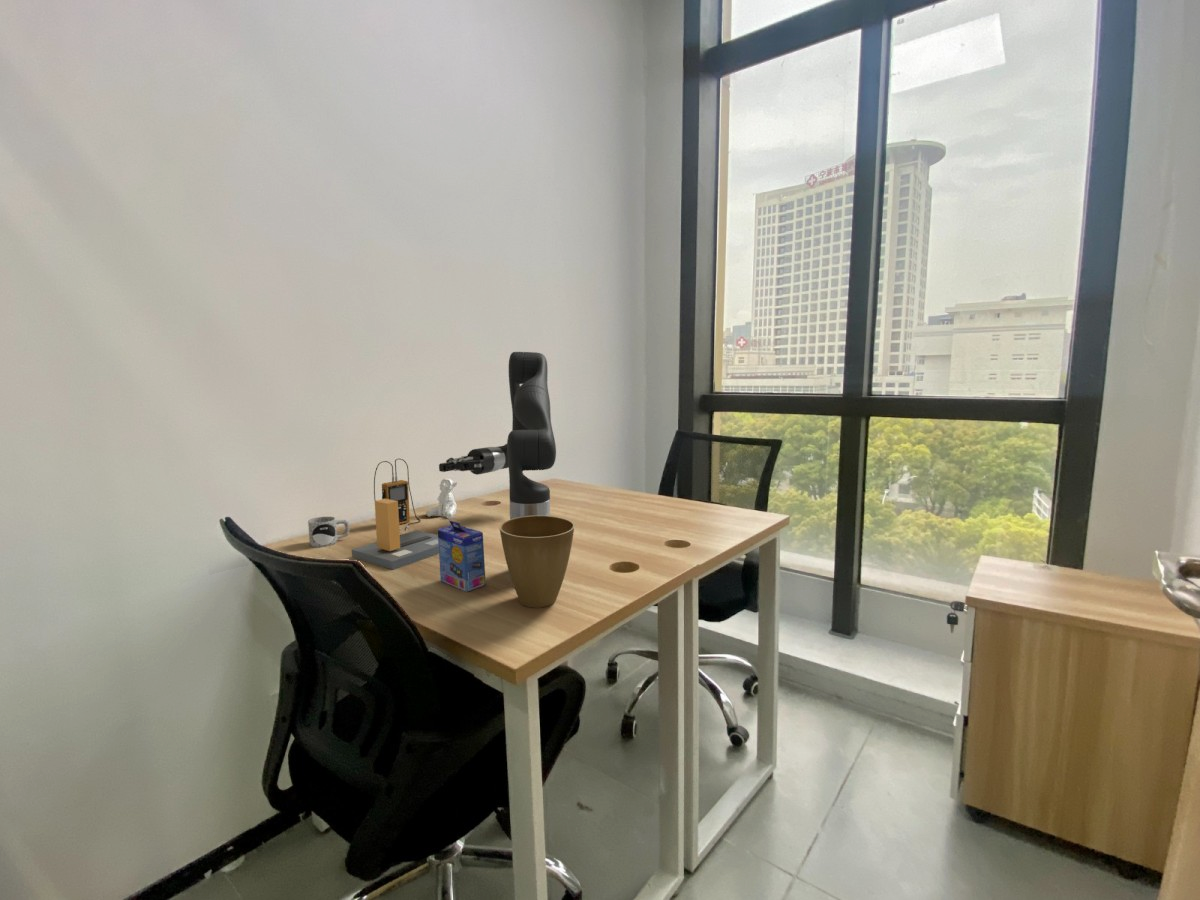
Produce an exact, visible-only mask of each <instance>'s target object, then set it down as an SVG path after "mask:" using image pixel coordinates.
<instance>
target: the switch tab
mask: <svg viewBox="0 0 1200 900" xmlns="http://www.w3.org/2000/svg"><path fill="white" fill-rule="evenodd" d="M374 515H375V529H376V542H377V548H380V549H384V550H387V551H392V550H396V549H399V548H400V535H401V534H400V530H399V529H400V524H399V513H398V501H394V500H390V499H382V498H381V499H377V500H376V501H375V500H374Z"/></svg>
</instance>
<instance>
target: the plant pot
mask: <svg viewBox="0 0 1200 900" xmlns="http://www.w3.org/2000/svg"><path fill="white" fill-rule="evenodd" d="M499 532H500V538H501V544H502V550H503V554H504V559H505V561H506V566H507V570H508V573H509V575H510V580H511V582H512V586H513V588H514V590H515V592H516V595H517V598H518V600H519V602H520V604H522V605H523V606H524V607H528V608H544V607H549V606H551V605H553V604H555V602H556V600H557V598H558V596H559V593H560V590H561V588H562V584H563V583H564V582H563V581H564V578H565V575H566V572H567V568H568V565H569V560H570V556H571V551H572V546H573V539H574V532H575V524H574V522H573V521H571V520H569V519H566V518H563V517H559V516H552V515H550V516H524V517H518V518H513V519H510V518H509V519H508V520H505V521H504V522H502V523H501V524H500V525H499Z"/></svg>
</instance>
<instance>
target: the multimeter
mask: <svg viewBox="0 0 1200 900" xmlns="http://www.w3.org/2000/svg"><path fill="white" fill-rule="evenodd" d="M397 460H398V458H396V459H395V460H394V466H393V464H392V463H391V462H390V461H387V460H384V461H380V462H379V463H378V464H377V465H376V468H375V471H374V477H373V495H374V496H373V498H374V499H373V501H374V502H375V501H377V500H376V491H375V490H376V489H375V488H376V475H377V474H376V473H377V470H378V468H379V465H380V464H382V463H388V464H390V466H391V472H392V474H391V476H392V477H391V481H390V482H389V481H388V482H383V483H382V484H381V499H390V500H394V501H398V513H399V525H402V524H403V525H404V524H407V525H406V527H405V531H407V530H409V526H410V525H413V524H417V523H418V524H419V523H420V522H421V518H419V517H417V515H416V510H415V507H414V502H413V497H412V496H413V495H412V492H411V488H410V477H409V465H408V464H407V462H406V460H405V459H403V458H399V461H400V460H401V461H403V462H404V464H405V465H406V469H407V480H403V479H400V480H399V479H398V475H397V474H398V473H397ZM394 469H395V473H394ZM394 474H395V476H394ZM409 495H410V496H409ZM409 497H410V498H409ZM410 500H411V506H412V508H413V509H412V510H413V513H414V516H415V519H416V520H418V521H416V522H410V521H411V520H410V519H411V517H410ZM399 531H401V528H399Z"/></svg>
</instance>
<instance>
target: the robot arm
mask: <svg viewBox="0 0 1200 900" xmlns="http://www.w3.org/2000/svg"><path fill="white" fill-rule="evenodd" d="M548 372H549V371H548V360H547V358H546V356H545V355H544V354H543V353H540V352H533V351H532V352H531V351H513V352H511V354H510V356H509V359H508V383H509V396H510V403H511V412H512V421H511V422H512V423H511V424H512V425H511V427H512V428H511V429H512V430H511V431H510V432H509V433H508V435H507V439H506V440H507V441H506V443H505V444H504V445H499V446H488V447H479V448H474V449H471V450H470V451H468V453H467V455H461V457H455V458H454V457H448V459H446V460H445V462H442V463H439V464H438V469H439V470H438V471H439V472H440V473H441V472H442V473H445V472H452V471H454V472H456V471H458V472H467V471H470V473H472V474H473V475H476V476H478V475H483V474H488V473H493V472H497V471H499V470H502V469H503V470H504V469H505V470H506V469H508V477H509V520H510V519H513V518H518V517H524V516H551V491H550V490H551V489H550V487H549V486H548V485H547V484H544V483H541V482H538V481H535V480H532V479H531V478H529V477H527V476H526V475H525V474H524V471H545V470H549V469H551V468H552V467H553V466H554V465H555V463H556V460H557V459H556V457H557V448H556V442H555V441H556V440H555V434H554V431H553V426H552V421H551V420H552V418H551V401H550V393H549V388H548V387H549V386H548Z"/></svg>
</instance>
